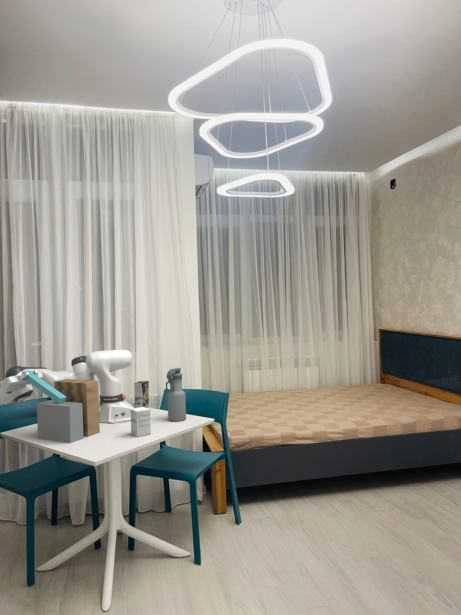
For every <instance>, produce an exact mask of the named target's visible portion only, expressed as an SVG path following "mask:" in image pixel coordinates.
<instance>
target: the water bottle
mask: <svg viewBox="0 0 461 615" xmlns="http://www.w3.org/2000/svg"><path fill="white" fill-rule="evenodd" d="M181 371H182V369H181V367H176V368H175V367H174V368H171V369H169V370H168V371H167V373H166V379H167V381H166V382H165V391H166V392H167V419H168V421H169V422H171V423H172V422H173V423H174V422H175V423H176V422H183V421H185V420H186V419H187V408H186V406H187V405H186V403H187V402H186V392H185V391H184V390H183V373H181ZM168 384H169V389H168Z"/></svg>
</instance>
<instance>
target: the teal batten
mask: <svg viewBox="0 0 461 615" xmlns="http://www.w3.org/2000/svg"><path fill="white" fill-rule="evenodd" d="M25 372H29V375H28V376H27V377H25V378H24V379H25V380H26V381H28V382H29V383H30V384H31V385H32V387H33V386H34V388H36V389H37V390H39V391H40V392H41V393H43V394H44V395H45V396H47V397H48V398H49V399H51V400H53V401H55V402H56V403H58V404H61V403H64V402H65V401H66V398H67V397H66V396H65V395H63V394H62V393H60V392H59V391H58V390H56V389H55V388H53V387H52V386H51V385H49V384H48V383H46V382H45V381H44V380H42V379H41V378H39V377H38V376H37V375H35V374H34V373H32V372H31V371H30V370H28V371H23V372H22V374H24V373H25Z"/></svg>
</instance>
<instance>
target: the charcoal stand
mask: <svg viewBox="0 0 461 615" xmlns="http://www.w3.org/2000/svg"><path fill="white" fill-rule="evenodd" d="M36 420H37V426H36V427H37V439H41V440H48V441H54V442H62V443H69V444H73V443H74V442H77V441H80V440H83V439H84V436H83V410H82V403H76V402H64V403H61V404H58V403H56V402H55V401H54V400H52V399H51V400H46V401H41V402H37V403H36Z"/></svg>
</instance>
